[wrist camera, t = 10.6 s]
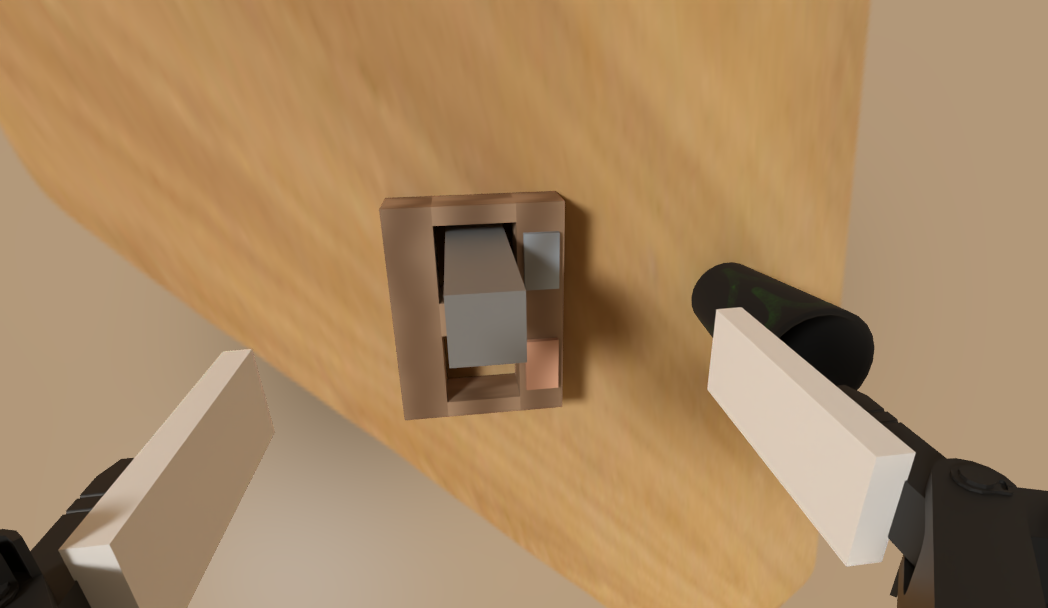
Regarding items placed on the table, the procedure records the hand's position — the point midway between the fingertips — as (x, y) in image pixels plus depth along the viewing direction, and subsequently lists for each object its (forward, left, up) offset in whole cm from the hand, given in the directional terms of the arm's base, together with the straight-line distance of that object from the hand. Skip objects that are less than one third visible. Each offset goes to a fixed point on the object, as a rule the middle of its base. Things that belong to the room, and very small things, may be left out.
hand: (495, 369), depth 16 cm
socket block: (0, +8, -25) cm, 26 cm away
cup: (-20, +9, -25) cm, 33 cm away
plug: (0, +4, -25) cm, 25 cm away
